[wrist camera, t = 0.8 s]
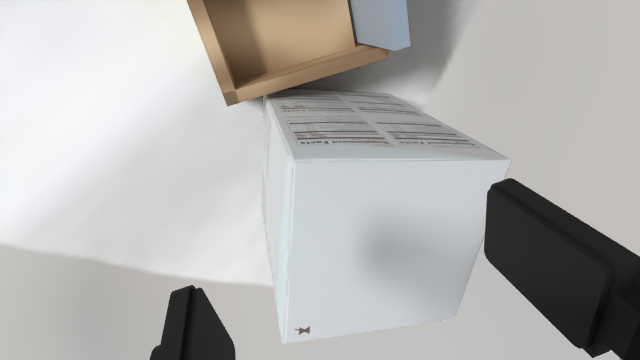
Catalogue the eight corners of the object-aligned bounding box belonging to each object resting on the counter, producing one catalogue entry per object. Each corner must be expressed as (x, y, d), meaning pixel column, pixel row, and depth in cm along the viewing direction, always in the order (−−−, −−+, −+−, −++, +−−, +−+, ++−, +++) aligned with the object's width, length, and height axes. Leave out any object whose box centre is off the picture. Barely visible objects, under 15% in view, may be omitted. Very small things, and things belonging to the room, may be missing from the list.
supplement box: (371, 204, 40) (457, 322, 25) (260, 209, 37) (279, 349, 21) (391, 91, 34) (518, 156, 19) (260, 86, 31) (288, 158, 16)
